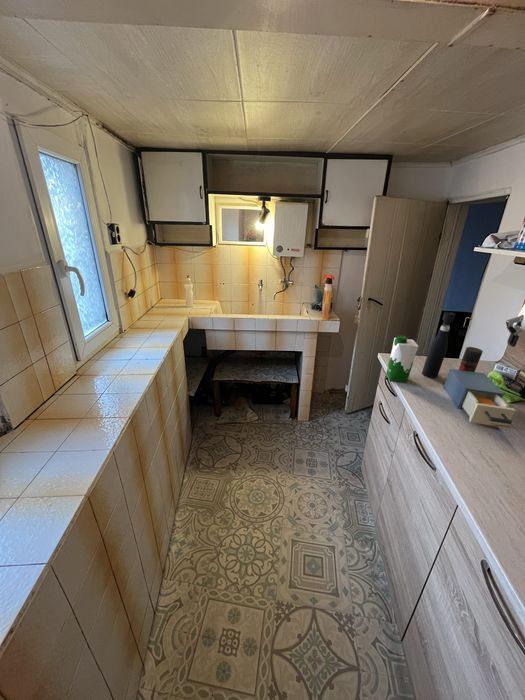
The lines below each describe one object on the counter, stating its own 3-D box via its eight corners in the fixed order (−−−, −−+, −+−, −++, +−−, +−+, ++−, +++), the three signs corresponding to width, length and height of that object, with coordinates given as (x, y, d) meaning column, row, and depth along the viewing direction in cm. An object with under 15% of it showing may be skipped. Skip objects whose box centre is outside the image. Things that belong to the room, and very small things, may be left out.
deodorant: (453, 375, 131) (463, 346, 125) (467, 377, 130) (478, 347, 124) (458, 381, 126) (470, 351, 120) (473, 383, 125) (485, 353, 118)
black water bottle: (420, 375, 130) (440, 313, 117) (422, 370, 135) (442, 309, 122) (436, 380, 127) (458, 316, 114) (437, 374, 131) (459, 312, 119)
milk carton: (383, 372, 131) (393, 332, 123) (404, 374, 130) (415, 334, 121) (388, 382, 123) (399, 340, 115) (409, 384, 122) (422, 342, 114)
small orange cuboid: (486, 409, 104) (490, 399, 102) (492, 417, 100) (497, 406, 98) (472, 407, 105) (476, 397, 103) (478, 415, 101) (482, 404, 99)
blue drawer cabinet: (494, 414, 105) (504, 393, 101) (457, 408, 107) (465, 388, 103) (476, 391, 119) (483, 373, 115) (443, 387, 121) (450, 368, 117)
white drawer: (515, 437, 92) (524, 419, 89) (476, 430, 94) (484, 413, 91) (486, 403, 109) (494, 387, 106) (454, 398, 111) (460, 383, 108)
